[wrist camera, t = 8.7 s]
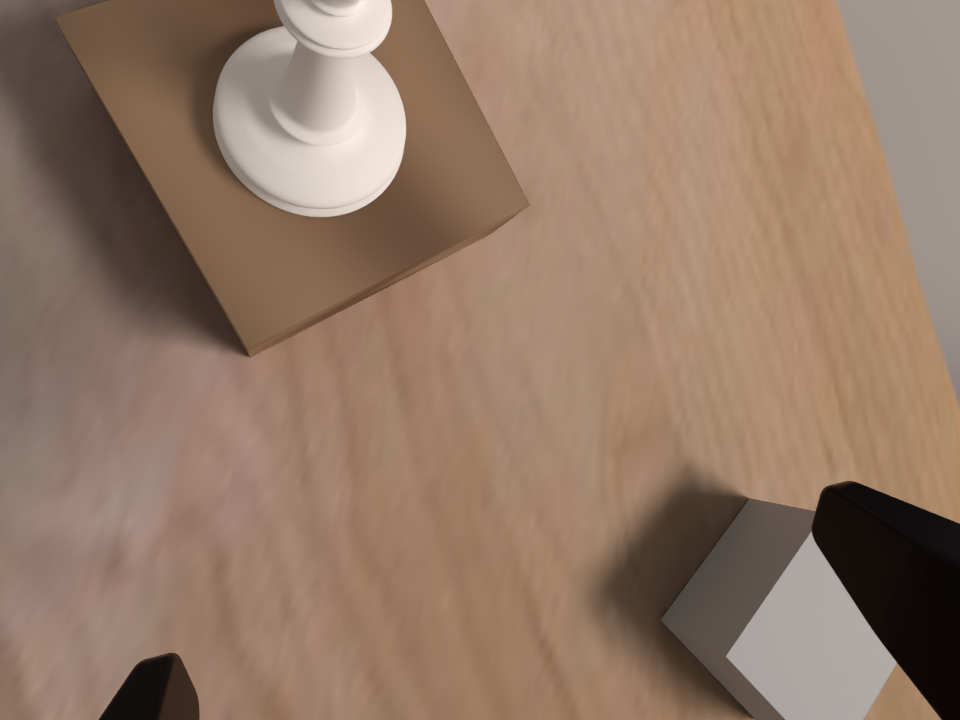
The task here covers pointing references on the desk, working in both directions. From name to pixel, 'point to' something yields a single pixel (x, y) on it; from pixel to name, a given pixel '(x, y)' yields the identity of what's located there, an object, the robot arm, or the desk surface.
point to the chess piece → (313, 109)
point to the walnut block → (252, 221)
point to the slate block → (779, 622)
